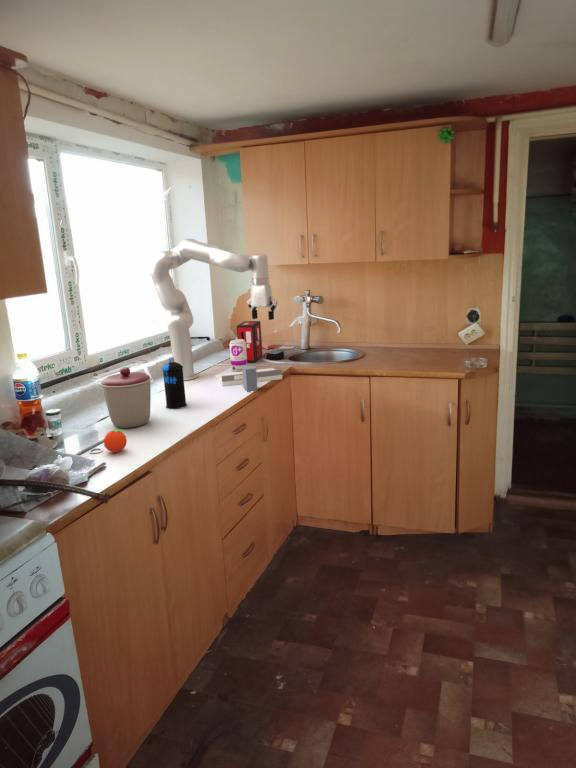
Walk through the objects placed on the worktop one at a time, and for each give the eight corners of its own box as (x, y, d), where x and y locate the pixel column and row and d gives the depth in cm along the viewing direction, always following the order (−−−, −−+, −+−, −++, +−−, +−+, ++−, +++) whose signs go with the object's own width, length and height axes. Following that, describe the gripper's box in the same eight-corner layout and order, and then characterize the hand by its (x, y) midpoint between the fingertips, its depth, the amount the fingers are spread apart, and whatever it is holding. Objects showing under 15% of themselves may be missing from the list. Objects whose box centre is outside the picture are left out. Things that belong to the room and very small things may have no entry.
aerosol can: (177, 402, 233) (172, 354, 228) (191, 405, 228) (186, 356, 223) (161, 407, 227) (156, 358, 222) (175, 410, 222) (169, 360, 217)
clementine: (129, 445, 185) (126, 424, 183) (132, 452, 178) (130, 430, 177) (104, 450, 182) (101, 429, 180) (106, 457, 175) (103, 435, 174)
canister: (95, 427, 205) (87, 370, 200) (133, 413, 220) (127, 360, 214) (129, 434, 195) (121, 375, 190) (167, 420, 210) (161, 364, 205)
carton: (247, 392, 242) (245, 369, 240) (243, 388, 249) (242, 366, 247) (258, 390, 244) (256, 368, 241) (254, 387, 250) (252, 365, 248)
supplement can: (245, 371, 281) (243, 341, 277) (229, 371, 283) (226, 342, 279) (249, 368, 289) (247, 338, 285) (234, 368, 290) (231, 339, 287)
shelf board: (222, 386, 255) (221, 376, 254) (216, 378, 270) (215, 369, 269) (282, 379, 262) (282, 369, 261) (273, 371, 277) (272, 362, 276)
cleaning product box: (247, 357, 317) (244, 321, 312) (262, 356, 315) (260, 320, 310) (239, 363, 301) (236, 325, 296) (255, 363, 299) (253, 325, 295)
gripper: (240, 282, 263) (243, 319, 267) (270, 282, 253) (273, 320, 257) (251, 281, 268) (253, 317, 273) (280, 281, 259) (282, 318, 263)
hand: (263, 319), depth 265 cm, fingers open, 9 cm apart
